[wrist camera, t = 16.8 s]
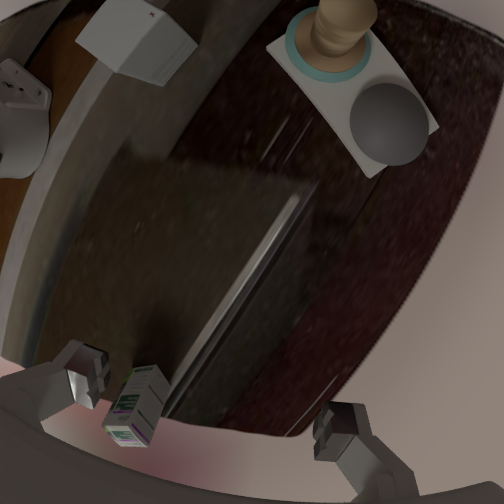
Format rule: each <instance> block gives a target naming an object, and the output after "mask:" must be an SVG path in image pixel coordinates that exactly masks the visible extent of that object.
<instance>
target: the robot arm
mask: <svg viewBox="0 0 504 504" xmlns="http://www.w3.org/2000/svg"><path fill="white" fill-rule="evenodd" d="M40 93H41V95H40ZM51 98H52V92H51V90H50V89H49V88H48V87H46V86H45V85H44V84H43V83H41V82H40V81H39V80H38V79H37V78H35V77H34V76H33V75H32V74H31V73H29V72H28V71H27V70H26V69H25V68H23V67H22V66H21V65H20V64H19V63H17V62H16V61H15V60H14V59H12V58H7V59H6V60H4V61H3V62H2V63H0V178H17V179H21V178H25V177H27V176H29V175H31V174H32V173H33V172H34V171H35V170H36V169H37V168H38V166H39V165H40V163H41V161H42V159H43V157H44V154H45V151H46V148H47V144H48V138H49V117H48V112H49V107H50V103H51ZM108 361H109V354H108V353H107V352H106V351H103V350H101V349H98V348H95V347H93V346H90V345H88V344H85V343H82V342H80V341H77V340H75V339H74V340H71V341H70V342H69V343H68V344H67V346H66V347H65V348H64V349H63V350H62V351H61V352H60V354H59V355H58V356H57V357H56V358H55V359H54V361H53V362H52V363H51V362H46V363H43V364H40V365H37V366H34V367H31V368H28V369H25V370H22V371H19V372H16V373H12V374H9V375H6V376H3V377H1V378H0V504H504V489H503V488H501V487H500V486H499V485H497V484H496V483H494V482H491V481H487V482H482V483H478V484H475V485H471V486H467V487H463V488H459V489H454V490H450V491H445V492H440V493H435V494H430V495H423V496H420V495H419V491H418V487H417V484H416V480H415V476H414V472H413V471H412V470H411V469H410V468H409V467H408V466H407V465H406V464H405V463H404V462H403V461H402V460H400V458H398V457H397V456H396V455H395V454H394V453H393V452H392V451H391V450H390V449H389V448H388V447H387V446H386V445H385V444H384V443H383V442H382V441H381V440H380V439H379V438H377V437H376V436H373V435H372V432H371V427H370V423H369V420H368V415H367V411H366V408H365V405H364V404H357V403H345V402H334V401H325V402H324V404H323V405H322V407H321V408H322V413H320V414H318V415H317V417H316V419H315V421H314V425H313V438H314V439H315V440H316V441H317V442H316V443H315V445H314V459H315V460H317V461H331V462H336V464H337V466H338V467H339V469H340V470H341V471H342V473H343V474H344V476H345V477H346V478H347V480H348V481H349V483H350V484H351V485H352V487H353V488H354V489H355V491H356V492H357V494H358V496H357V497H355V498H354V499H353V500H352V501H351V502H350V503H314V502H293V501H279V500H269V499H260V498H252V497H245V496H238V495H232V494H226V493H220V492H215V491H210V490H205V489H200V488H196V487H191V486H187V485H183V484H179V483H175V482H171V481H168V480H164V479H161V478H157V477H154V476H150V475H147V474H144V473H141V472H138V471H134V470H132V469H129V468H126V467H123V466H121V465H118V464H115V463H112V462H110V461H107V460H104V459H102V458H100V457H97V456H95V455H92V454H90V453H88V452H85V451H83V450H80V449H78V448H76V447H74V446H72V445H70V444H68V443H66V442H64V441H62V440H60V439H58V438H55V437H53V436H52V435H50V434H48V433H46V432H45V431H44V429H43V427H42V425H41V423H40V422H41V421H43V420H45V419H46V418H48V417H50V416H52V415H54V414H56V413H58V412H59V411H61V410H63V409H65V408H66V407H68V406H70V405H72V404H74V402H75V403H78V404H80V405H83V406H85V407H88V408H90V409H94V408H95V406H96V404H97V403H98V401H99V399H100V392H102V391H104V390H105V389H106V388H107V386H108V383H109V380H110V374H111V372H110V367H109V366H108V365H107V362H108Z"/></svg>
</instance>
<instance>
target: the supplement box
mask: <svg viewBox="0 0 504 504" xmlns="http://www.w3.org/2000/svg"><path fill="white" fill-rule="evenodd" d="M75 42H77V43H78V44H80V45H81V46H82V47H84V48H85V49H86V50H88V51H89V52H90V53H91V54H93V55H94V56H95V57H96V58H98V59H99V60H100V61H101V62H103V63H104V64H105V65H107V66H108V67H109V68H110V69H112V70H113V71H114V72H116V73H121V74H125V75H128V76H131V77H134V78H137V79H140V80H143V81H146V82H149V83H152V84H156V85H159V86H162V87H163V86H164V85H165V84H166V83H167V81H168V80H169V79H170V78H171V77H172V75H173V74H174V73H175V72H176V71H177V69H178V68H179V67H180V66H181V65H182V64H183V62H184V61H185V60H186V59H187V58H188V57H189V56H190V55H191V53H192V52H193V51H194V50H195V49H196V48H197V47H198V44H197V43H196V42H195V41H194V40H193V39H192V38H191V37H190V36H189V35H188V34H187V33H186V32H185V31H184V30H183V29H182V28H181V27H180V26H179V25H178V24H177V23H176V22H175V21H174V20H173V19H172V18H171V17H170V16H169V15H168V14H167V13H166V12H164V11H163V10H161V9H159V8H157V7H156V6H154V5H152V4H150V3H149V2H147V1H145V0H106V1H105V3H104V4H103V5H102V6H101V7H100V9H99V10H98V11H97V12H96V13H95V15H94V16H93V17H92V19H91V20H90V21H89V22H88V24H87V25H86V26H85V28H84V29H83V30H82V32H81V33H80V35H79V36H78V37H77V39H76V40H75Z"/></svg>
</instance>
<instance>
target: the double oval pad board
mask: <svg viewBox="0 0 504 504" xmlns="http://www.w3.org/2000/svg"><path fill="white" fill-rule="evenodd" d="M317 9H318V6H316V7H311V8H308V9H305V10H303V11H301V12H300V13H298V14H297V15H296V16H295V17H294V18H293V19H292V20H291V21H290V23H289V25H288V27H287V30H286V34H284V35H283V36H281V37H280V38H278V39H277V40H275V41H274V42H272V43H271V44H269V45H268V46H266V48H267V51H268V52H269V53H270V54H271V55H272V56H273V57H274V58H275V60H276V61H277V62H278V63H279V64H280V65H281V66H282V67H283V68H284V70H285V71H286V72H287V73H288V74H289V75H290V76H291V78H292V79H293V80H294V81H295V82H296V83H297V85H298V86H299V87H300V88H301V89H302V91H303V92H304V93H305V94H306V95H307V97H308V98H309V99H310V100H311V102H312V103H313V104H314V105H315V107H316V108H317V109H318V110H319V112H320V113H321V114H322V115H323V117H324V118H325V119H326V121H327V122H328V123H329V125H330V126H331V127H332V128H333V130H334V131H335V132H336V134H337V135H338V137H339V138H340V139H341V141H342V142H343V143H344V145H345V146H346V148H347V149H348V150H349V152H350V153H351V155H352V156H353V157H354V159H355V160H356V162H357V163H358V165H359V166H360V168H361V169H362V170H363V172H364V173H365V175H366V176H367V177H368V178H371V177H373V176H374V175H375V174H377V173H378V172H379V171H381V170H382V169H383V168H385V167H386V166H388V165H391V166H397V165H403V164H406V163H409V162H411V161H412V160H414V159H415V158H416V157H418V156H419V154H420V153H421V152H422V151H423V149H424V147H425V145H426V143H427V140H428V135H430V134H431V133H432V132H434V131H435V130H436V129H438V128H439V126H438V124H437V122H436V121H435V119H434V117H433V116H432V114H431V112H430V111H429V109H428V108H427V106H426V104H425V103H424V101H423V100H422V98H421V97H420V95H419V94H418V92H417V91H416V89H415V88H414V86H413V85H412V83H411V82H410V80H409V79H408V77H407V76H406V75H405V73H404V72H403V70H402V69H401V68H400V66H399V65H398V64H397V62H396V61H395V60H394V58H393V57H392V56H391V54H390V53H389V52H388V51H387V49H386V48H385V47H384V46H383V44H382V43H381V42H380V41H379V39H378V38H377V37H376V36H375V35H374V33H373V32H372V31H371V30H370V29H368V30H367V31H366V33H365V34H364V36H365V40H366V49H365V53H364V55H363V57H362V59H361V60H360V61H359V62H358V63H357V64H356V65H355V66H354V67H353V68H351V69H349V70H347V71H345V72H341V73H327V72H323V71H320V70H317V69H315V68H313V67H311V66H310V65H309V64H307V63H306V62H305V61H304V60H303V59H302V58H301V56H300V55H299V53H298V51H297V49H296V46H295V32H296V28H297V25H298V23H299V22H300V21H301V19H302V18H303V17H304V16H306V15H307V14H309V13H311V12H313V11H316V10H317Z"/></svg>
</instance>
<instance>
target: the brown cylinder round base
mask: <svg viewBox="0 0 504 504" xmlns="http://www.w3.org/2000/svg"><path fill="white" fill-rule="evenodd" d="M376 18H377V7H376V4H375V2H374V0H320V3H319V6H318V9H317V10H316V11H313V12H311V13H309V14H307V15H306V16H304V17H303V18H302V19H301V21H300V22H299V23H298V25H297V28H296V32H295V46H296V49H297V51H298V53H299V55H300V56H301V58H302V59H303V60H304V61H305V62H306V63H307V64H309V65H310V66H311V67H313V68H315V69H317V70H320V71H323V72H327V73H341V72H345V71H347V70H349V69H351V68H353V67H354V66H355V65H356V64H357V63H358V62H359V61H360V60H361V59H362V57H363V55H364V53H365V49H366V40H365V36H364V34H365V33H366V31H367V30H368V29H369V28H370V27H371V26H372V25H373V23H374V22H375V20H376Z"/></svg>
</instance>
